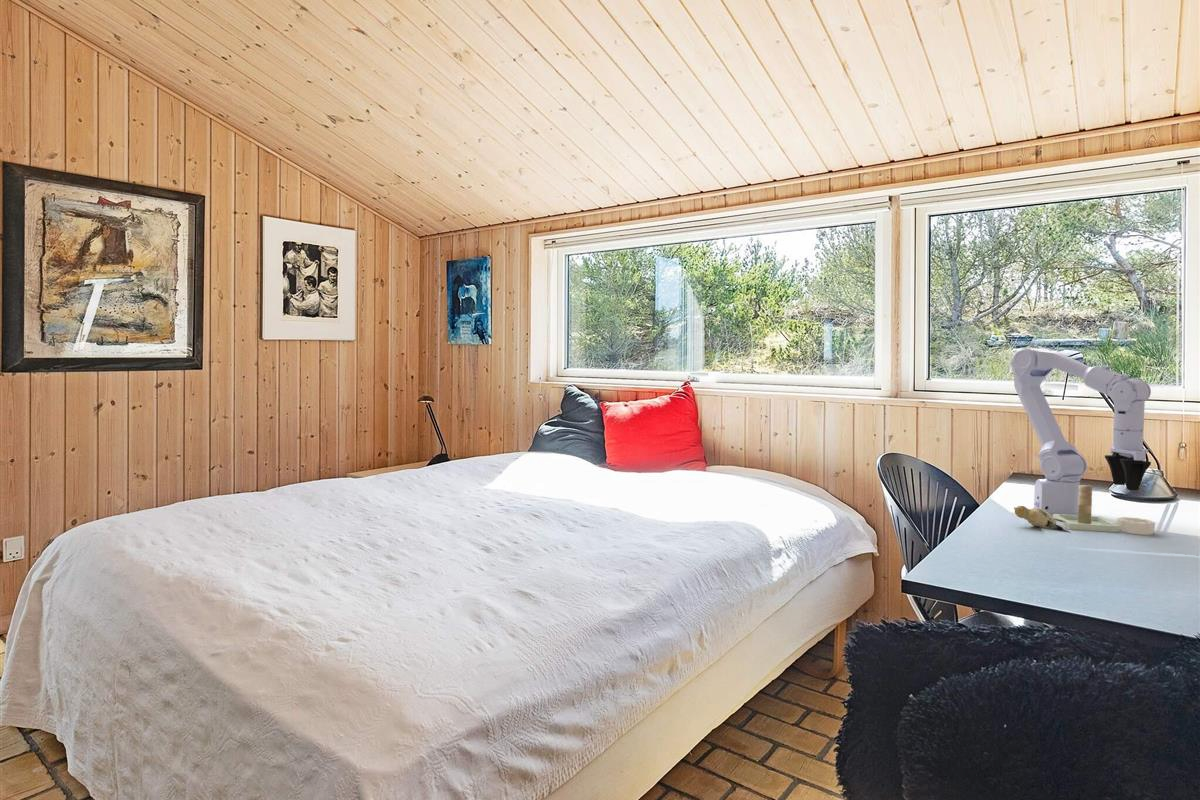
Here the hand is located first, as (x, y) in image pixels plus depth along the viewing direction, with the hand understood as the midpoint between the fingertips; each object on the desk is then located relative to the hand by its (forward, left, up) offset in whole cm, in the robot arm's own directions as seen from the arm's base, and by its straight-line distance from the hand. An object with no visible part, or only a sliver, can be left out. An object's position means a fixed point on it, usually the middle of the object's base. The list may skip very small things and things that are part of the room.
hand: (1125, 487), depth 173 cm
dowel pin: (-10, -4, -9) cm, 13 cm away
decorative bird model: (-19, -8, -10) cm, 23 cm away
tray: (-10, -4, -9) cm, 14 cm away
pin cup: (-1, -7, -9) cm, 12 cm away
